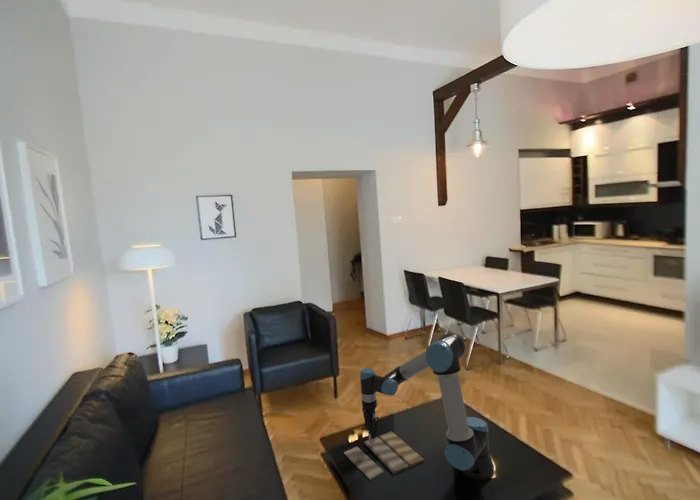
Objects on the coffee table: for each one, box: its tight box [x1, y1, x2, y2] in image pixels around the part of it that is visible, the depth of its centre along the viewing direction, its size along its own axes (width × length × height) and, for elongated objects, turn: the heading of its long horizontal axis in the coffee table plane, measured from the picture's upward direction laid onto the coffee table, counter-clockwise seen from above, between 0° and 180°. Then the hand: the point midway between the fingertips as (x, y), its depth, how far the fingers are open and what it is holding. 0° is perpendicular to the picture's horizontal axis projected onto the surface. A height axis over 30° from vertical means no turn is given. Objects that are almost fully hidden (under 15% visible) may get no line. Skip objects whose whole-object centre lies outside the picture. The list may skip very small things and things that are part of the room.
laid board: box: [378, 431, 425, 468], centre depth 190 cm, size 28×8×1 cm, turn 27°
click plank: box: [364, 436, 409, 475], centre depth 186 cm, size 28×8×1 cm, turn 27°
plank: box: [343, 446, 385, 481], centre depth 182 cm, size 24×8×1 cm, turn 31°
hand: (372, 443), depth 192 cm, fingers closed
